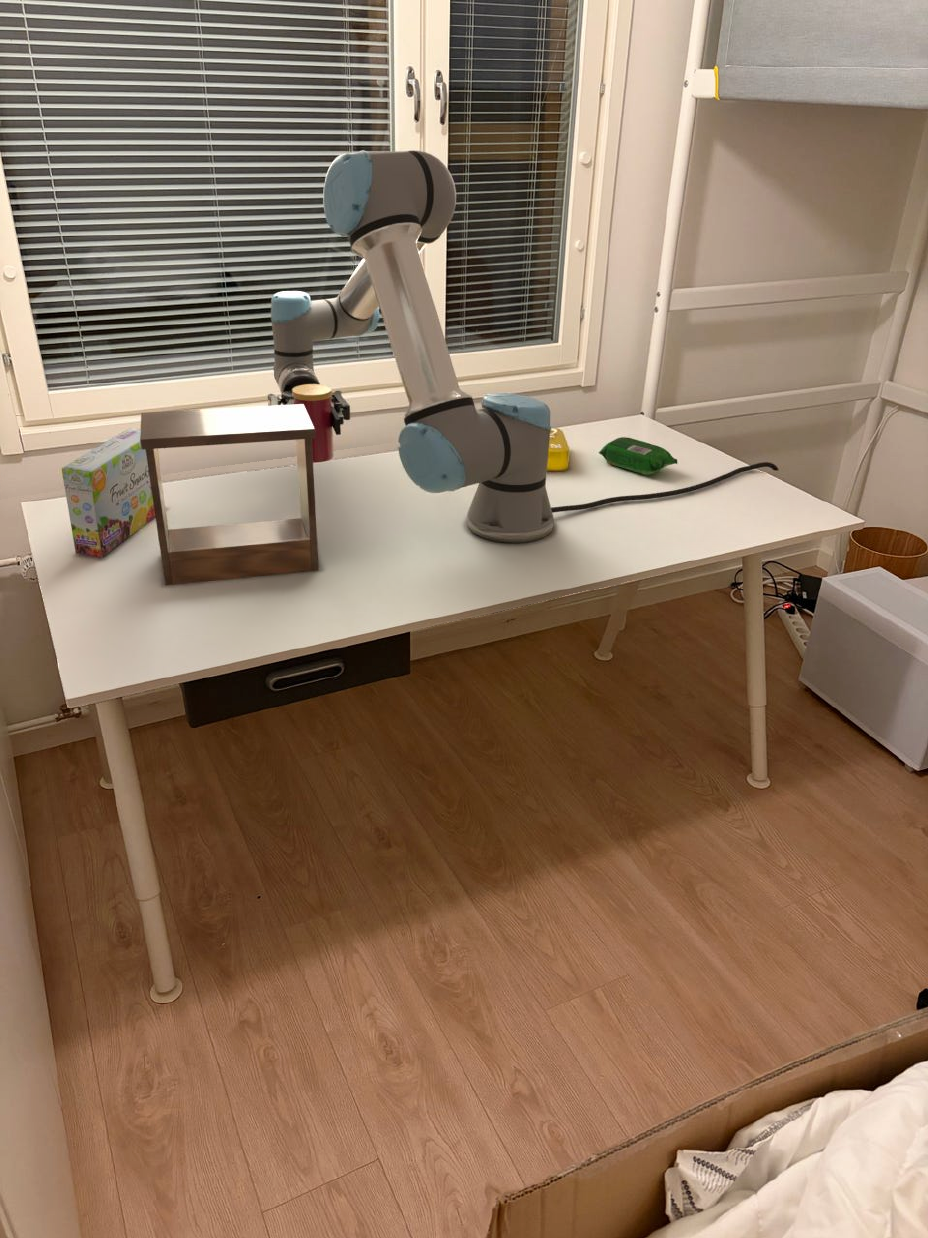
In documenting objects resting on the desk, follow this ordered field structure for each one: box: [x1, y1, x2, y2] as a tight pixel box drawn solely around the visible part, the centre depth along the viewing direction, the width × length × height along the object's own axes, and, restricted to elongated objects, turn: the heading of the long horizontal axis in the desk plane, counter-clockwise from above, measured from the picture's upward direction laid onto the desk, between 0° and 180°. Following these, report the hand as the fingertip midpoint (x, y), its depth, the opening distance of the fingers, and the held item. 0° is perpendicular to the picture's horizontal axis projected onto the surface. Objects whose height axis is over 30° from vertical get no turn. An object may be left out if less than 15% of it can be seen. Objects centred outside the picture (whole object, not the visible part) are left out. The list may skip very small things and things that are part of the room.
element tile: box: [547, 427, 570, 472], centre depth 197 cm, size 15×15×5 cm
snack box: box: [61, 427, 162, 558], centre depth 157 cm, size 21×6×15 cm, turn 168°
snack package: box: [598, 436, 678, 476], centre depth 193 cm, size 7×16×5 cm, turn 46°
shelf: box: [140, 404, 320, 586], centre depth 147 cm, size 25×13×24 cm, turn 106°
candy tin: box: [292, 383, 334, 464], centre depth 163 cm, size 7×7×12 cm
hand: (317, 428), depth 159 cm, fingers closed on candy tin, 6 cm apart
